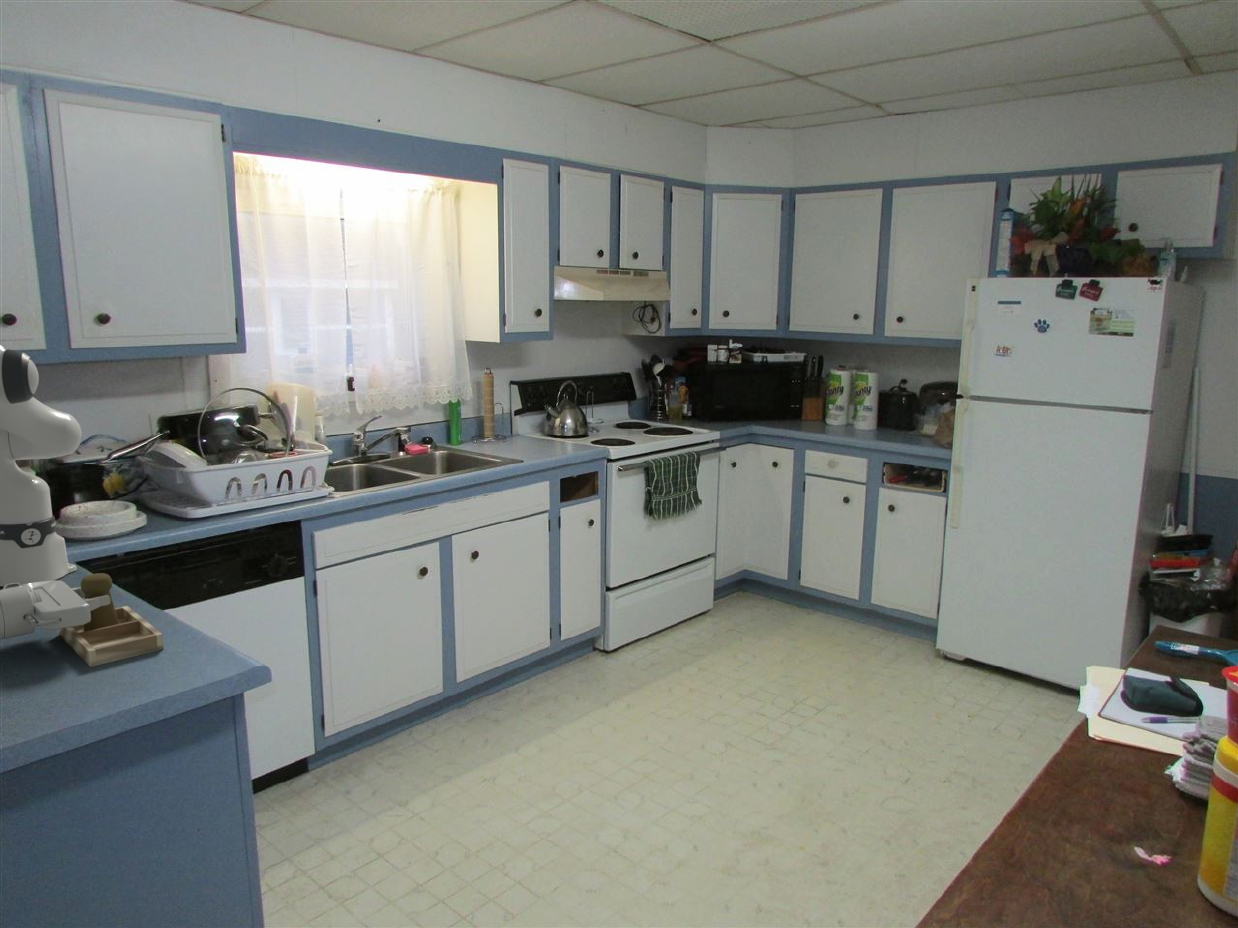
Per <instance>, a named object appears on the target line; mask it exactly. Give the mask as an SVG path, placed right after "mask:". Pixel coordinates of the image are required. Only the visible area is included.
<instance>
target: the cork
mask: <svg viewBox="0 0 1238 928" xmlns="http://www.w3.org/2000/svg"><path fill="white" fill-rule="evenodd" d="M80 587H81V590H82V592H84V593H85V598H84V599H87V598H88V599H91V598H95V597H97V596H98V595H103V594H107V595H108V596H109V597H110V604H109V605H105V606H100V607H98V608H96V609H94V610H92V611H90V613H91V621H90V622H88V623H86V624H84V632H85V631H90V630H94V629H99V628H103V627H108V626H112V625H117V624H119V622H118V619H117V615H116V611H115V605H114V601H113V598H112V594H111V591H110V590H111V589H112V588H113V580H112V578H111V576H110V575H109V574H107V573H104V572H102V573H101V572H100V573H99V572H97V573H91V574H89V575H86V576H84V577H83V578H82V579H81V581H80Z"/></svg>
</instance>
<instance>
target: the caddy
mask: <svg viewBox="0 0 1238 928" xmlns="http://www.w3.org/2000/svg"><path fill="white" fill-rule="evenodd" d="M114 608H115V607H114ZM115 611H116V615H117V619H118V622H119V624H117V625H112V626H108V627H103V628H99V629H94V630H90V631H85V632H84V624H83V625H79V626H73V627H67V628H61V629H58V632H59V636H60V637H61V638H62V639H63V640H64V642H66V643H67V644H68V645H69V646H70V647H71V648H72V650H74V651H75V653H76V654H77V655H78V656H79V657H80V658H81V659H82V661H84V662H85V663H86V664H87V666H89V668H93V667H97V666H102V665H105V664H109V663H113V662H117V661H121V660H122V661H123V660H126V659H130V658H133V657H137V656H141V655H142V656H143V655H145V654H146V655H147V654H150V653H154V652H158V651H161V650H162V649H163V650H164V639H163V633H162V631H161V632H160V630H158V629H157V628H156V627H155V626H153V625H152V624H150V623H149V622H148V621H147V620H146V619H144V617H142V616H140V615H139V614H138V613H137V612H136V611H134V610H133V609H132V608H131V607H129V606H128V605H125V606H118V607H116V608H115Z"/></svg>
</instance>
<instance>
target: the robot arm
mask: <svg viewBox="0 0 1238 928" xmlns="http://www.w3.org/2000/svg"><path fill="white" fill-rule="evenodd" d="M38 371H39V370H38V368H37V366H36V364H35V362H34V360H33V358H32V357H31V356H29V355H28V354H27V353H26V352H23V351H19V350H14V349H6V348H5V347H4V346H3V345H1V343H0V587H3V588H2V589H0V641H1V640H7V639H12V638H16V637H21V636H26V635H30V634H33V633H34V632H35V631H36V626H38V627H39V628H41V630H46V631H50V630H59V629H61V628H67V627H73V626H79V625H83V624H86V623H88V622H90V621H91V613H90V611H92V610H94V609H96V608H98V607H100V606H105V605H109V604H110V597H109V596H108V595H107V594H103V595H98V596H97V597H95V598H91V599H88V598H87V599H85V593H84V592H82V590H81V586H79V587H78V586H76V587H72V588H71V587H70V586H69V585H68V584H67V583H66V582H65V581H64V580H61V578H62V577H64V576H66V575H68V574H70V573H73V572H75V571H77V565H75V564H72V563H69V559H68V554H67V547H66V541H65V538H64V537H62V536H61V535H59V534H58V533H57V527H56V526H57V522H56V518H55V517H56V516H55V515H53V510H52V509H53V508H52V499H51V489H50V486H49V485H48V483H47V481H45V480H44V479H43V478H41V477H40V476H37V475H34V474H31V473H28V472H27V471H26V472H25V471H24V470H22V469H21V468H20V467H19V466H18V464H17V462H16V461H23V460H24V461H25V460H27V461H28V460H47V459H48V460H49V459H55V458H59V457H64V456H69V455H73V454H74V453H75V452H76V451H77V450H78V448H79V447H80V444H81V442H82V438H83V431H82V427H81V425H80V423H79V422H78V420H77V419H76V418H75V417H74V416H73V415H72V414H70V413H68V412H64V411H60V410H57V409H54V408H52V407H50V406H48V405H46V404H44V403H43V402H41V401H40V400H38V399H36V397H34V396H35V395H36V392H37V389H38V386H39V382H40V377H39V376H40V374H39V372H38ZM58 579H60V580H58Z"/></svg>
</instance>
